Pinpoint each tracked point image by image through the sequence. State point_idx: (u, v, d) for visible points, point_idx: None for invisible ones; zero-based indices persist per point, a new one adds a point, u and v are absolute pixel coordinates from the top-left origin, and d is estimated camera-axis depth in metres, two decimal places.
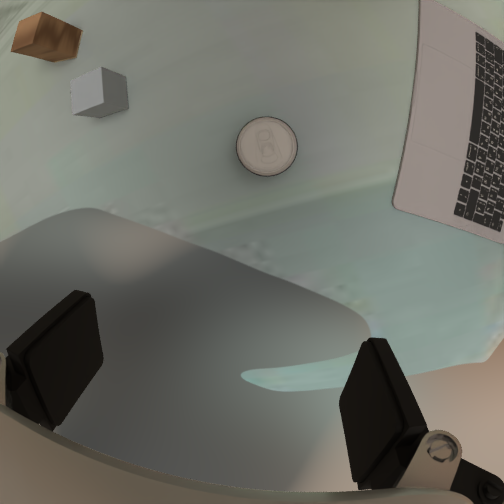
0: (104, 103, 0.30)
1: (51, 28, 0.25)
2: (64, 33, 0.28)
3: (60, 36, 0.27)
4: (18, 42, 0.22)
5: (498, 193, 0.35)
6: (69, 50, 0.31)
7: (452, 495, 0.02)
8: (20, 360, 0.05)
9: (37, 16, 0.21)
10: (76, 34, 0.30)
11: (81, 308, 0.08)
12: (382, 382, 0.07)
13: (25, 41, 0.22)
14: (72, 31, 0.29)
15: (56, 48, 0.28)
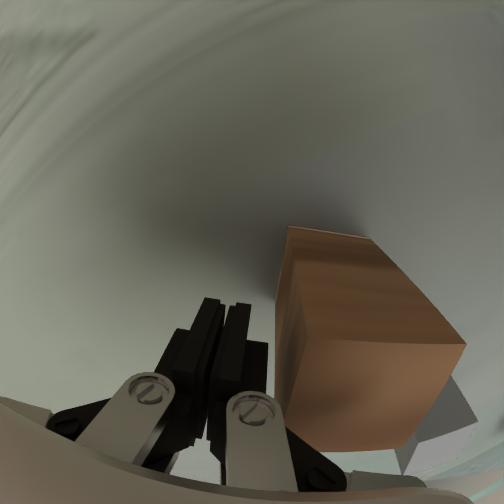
0: None
1: None
2: None
3: None
4: (323, 435, 0.08)
5: None
6: None
7: (452, 495, 0.02)
8: (193, 378, 0.06)
9: (445, 362, 0.07)
10: None
11: (221, 315, 0.09)
12: (223, 339, 0.08)
13: (365, 438, 0.08)
14: None
15: None
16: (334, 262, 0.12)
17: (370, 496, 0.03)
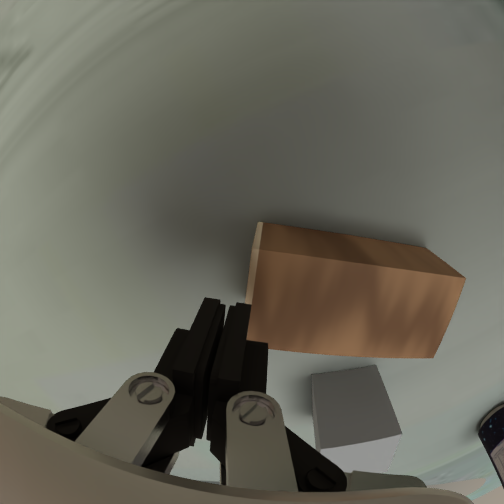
0: None
1: None
2: None
3: None
4: None
5: None
6: None
7: (452, 495, 0.02)
8: (193, 378, 0.06)
9: None
10: None
11: (221, 316, 0.09)
12: (223, 339, 0.08)
13: None
14: None
15: None
16: (363, 252, 0.14)
17: (370, 496, 0.03)
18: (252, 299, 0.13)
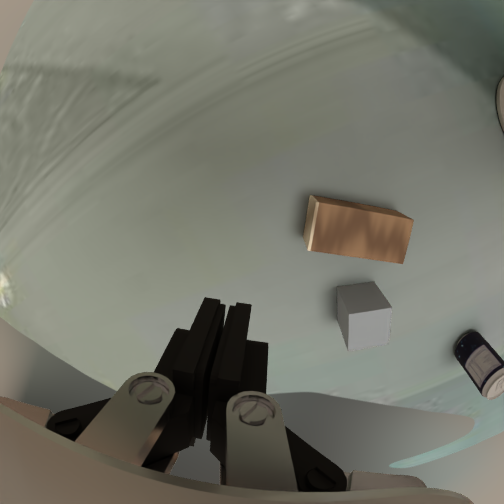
0: None
1: None
2: None
3: None
4: None
5: None
6: None
7: (452, 495, 0.02)
8: (193, 378, 0.06)
9: None
10: None
11: (221, 315, 0.09)
12: (223, 339, 0.08)
13: None
14: None
15: None
16: (362, 207, 0.30)
17: (370, 496, 0.03)
18: (315, 225, 0.30)
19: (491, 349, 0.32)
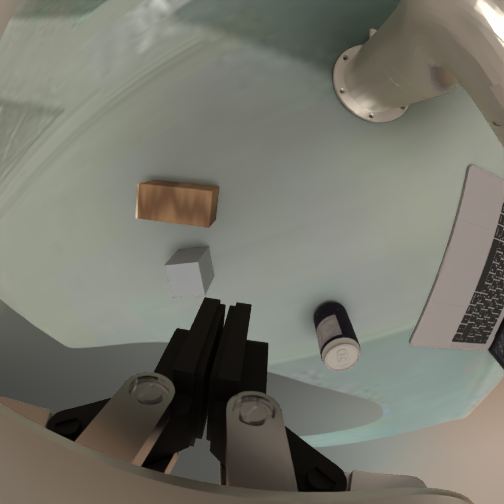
0: None
1: None
2: None
3: None
4: (211, 217, 0.42)
5: (489, 320, 0.47)
6: None
7: (452, 495, 0.02)
8: (193, 378, 0.06)
9: (218, 191, 0.44)
10: None
11: (221, 316, 0.09)
12: (223, 339, 0.08)
13: (213, 216, 0.43)
14: None
15: None
16: (176, 185, 0.41)
17: (370, 496, 0.03)
18: (138, 200, 0.40)
19: (341, 319, 0.43)
